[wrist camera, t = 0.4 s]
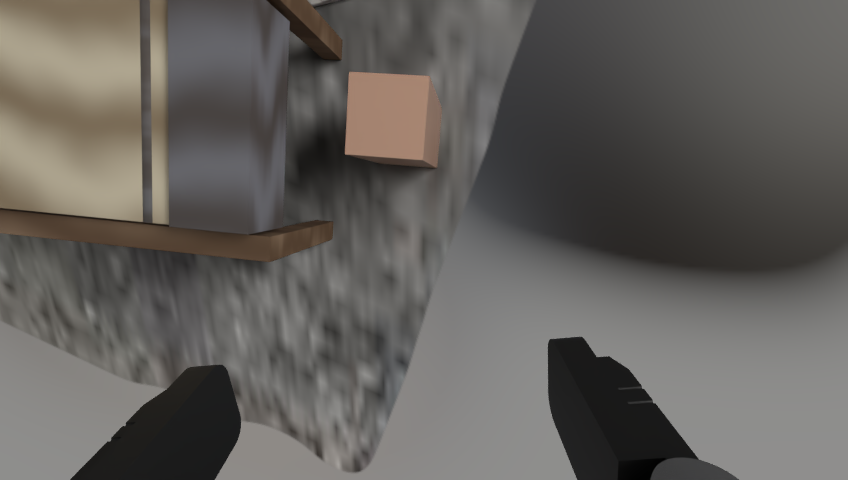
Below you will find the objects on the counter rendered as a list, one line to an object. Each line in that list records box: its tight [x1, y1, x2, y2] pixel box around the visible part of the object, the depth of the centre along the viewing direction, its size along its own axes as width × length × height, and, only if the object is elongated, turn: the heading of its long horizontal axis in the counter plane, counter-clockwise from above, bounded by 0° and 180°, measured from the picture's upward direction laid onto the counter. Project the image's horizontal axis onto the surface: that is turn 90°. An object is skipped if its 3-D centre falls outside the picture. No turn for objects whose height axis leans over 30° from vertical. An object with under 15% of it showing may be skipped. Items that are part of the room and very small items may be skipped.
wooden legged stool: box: [0, 0, 342, 262], centre depth 31 cm, size 17×24×12 cm
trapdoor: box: [0, 0, 290, 235], centre depth 26 cm, size 13×19×4 cm
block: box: [345, 72, 442, 168], centre depth 30 cm, size 5×5×10 cm
